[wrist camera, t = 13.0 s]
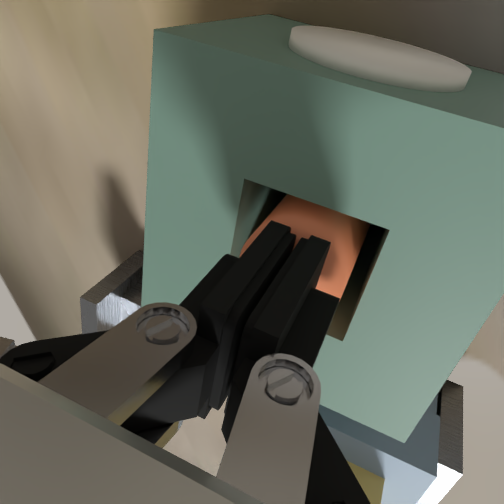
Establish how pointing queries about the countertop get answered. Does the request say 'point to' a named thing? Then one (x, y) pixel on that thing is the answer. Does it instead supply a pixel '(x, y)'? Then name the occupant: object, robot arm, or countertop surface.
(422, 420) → the carriage
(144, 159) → the countertop surface
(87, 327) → the rail
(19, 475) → the robot arm
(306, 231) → the orange peg
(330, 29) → the green box
